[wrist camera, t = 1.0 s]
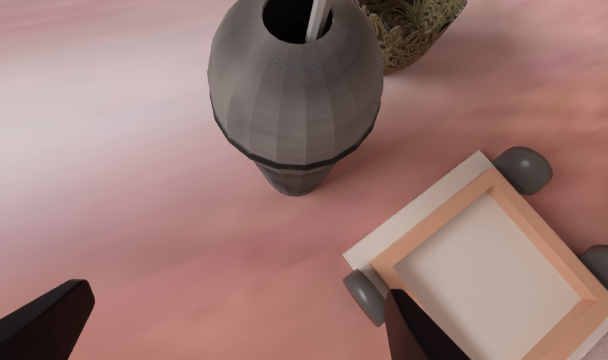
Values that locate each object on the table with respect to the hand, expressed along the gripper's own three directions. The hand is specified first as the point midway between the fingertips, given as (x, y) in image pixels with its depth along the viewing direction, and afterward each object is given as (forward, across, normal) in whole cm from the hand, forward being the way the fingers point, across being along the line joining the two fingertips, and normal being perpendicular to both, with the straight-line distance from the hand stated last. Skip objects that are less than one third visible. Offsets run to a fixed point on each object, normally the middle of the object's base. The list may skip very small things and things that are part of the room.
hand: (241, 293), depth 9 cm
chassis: (+10, -15, +9) cm, 20 cm away
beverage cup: (+15, -1, +3) cm, 16 cm away
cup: (+22, -8, -5) cm, 24 cm away
